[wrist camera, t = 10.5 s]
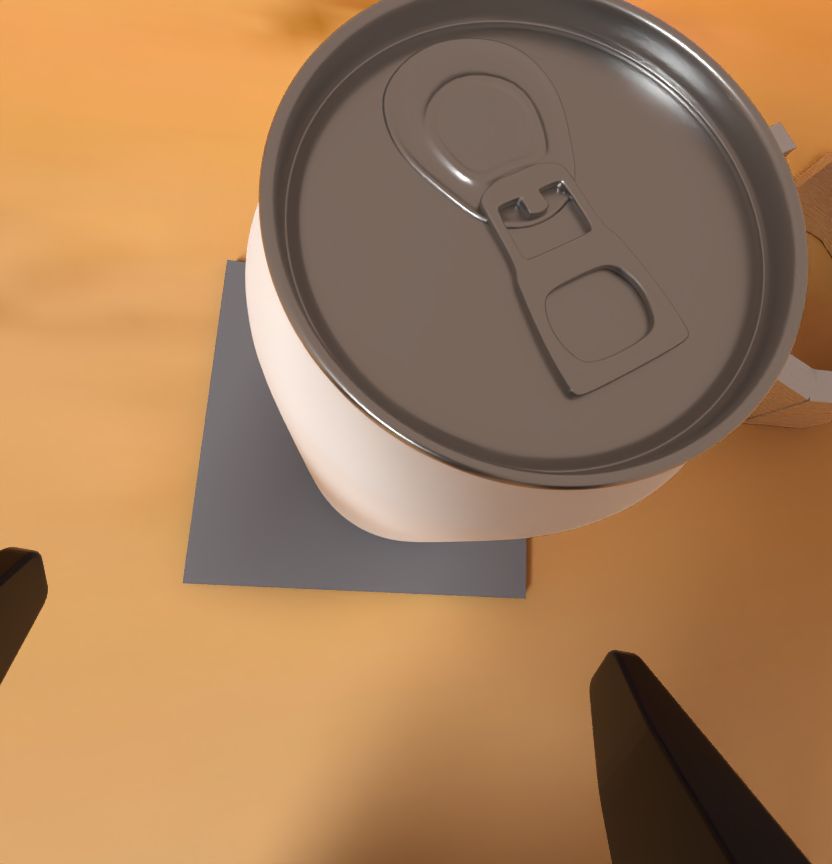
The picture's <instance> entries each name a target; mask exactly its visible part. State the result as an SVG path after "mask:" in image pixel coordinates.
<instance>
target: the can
mask: <svg viewBox="0 0 832 864" xmlns="http://www.w3.org/2000/svg"><path fill="white" fill-rule="evenodd" d="M807 286H808V242H807V233H806V226H805V220H804V215H803V210H802V206H801V202H800V198H799V195H798V191H797V188H796V185H795V182H794V179H793V176H792V174H791V171H790V168H789V166H788V164H787V161H786V159H785V157H784V154H783V152H782V150H781V148H780V146H779V144H778V142H777V141H776V139H775V137H774V135H773V133H772V132H771V130H770V128H769V127H768V125H767V123H766V122H765V120H764V119H763V117H762V116H761V114H760V112H759V111H758V110H757V108H756V107H755V105H754V104H753V103H752V101H751V100H750V99H749V98H748V96H747V95H746V94H745V92H744V91H743V90H742V89H741V88H740V86H739V85H738V84H737V83H736V82H735V81H734V80H733V79H732V77H731V76H730V75H729V74H728V73H727V72H726V71H725V70H724V69H723V68H722V67H721V66H720V65H719V64H718V63H717V62H716V61H715V60H714V59H712V58H711V57H710V56H709V55H708V54H707V53H706V52H705V51H703V50H702V49H701V48H700V47H699V46H697V45H696V44H695V43H694V42H692V41H691V40H690V39H688V38H687V37H686V36H684V35H683V34H682V33H680V32H679V31H677V30H676V29H674V28H673V27H671V26H670V25H668V24H667V23H665V22H664V21H662V20H660V19H659V18H657V17H655V16H653V15H652V14H650V13H648V12H646V11H644V10H642V9H641V8H638V7H636V6H634V5H632V4H630V3H628V2H626V1H624V0H381V1H379V2H377V3H375V4H373V5H372V6H370V7H368V8H367V9H365V10H363V11H362V12H360V13H359V14H357V15H356V16H354V17H352V18H351V19H350V20H348V21H347V22H346V23H344V24H343V25H342V26H341V27H339V28H338V29H337V30H336V31H334V32H333V33H332V34H331V35H330V36H329V37H328V38H327V39H326V40H325V41H324V42H323V43H322V44H321V45H320V46H319V47H318V48H317V49H316V50H315V51H314V52H313V53H312V55H311V56H310V57H309V58H308V59H307V61H306V62H305V63H304V64H303V66H302V67H301V68H300V70H299V71H298V73H297V74H296V76H295V77H294V79H293V80H292V82H291V84H290V85H289V87H288V88H287V90H286V92H285V94H284V96H283V98H282V100H281V102H280V104H279V106H278V108H277V111H276V113H275V116H274V118H273V121H272V123H271V127H270V130H269V133H268V136H267V140H266V144H265V148H264V152H263V157H262V163H261V170H260V180H259V202H258V205H257V208H256V212H255V215H254V218H253V222H252V226H251V230H250V235H249V240H248V246H247V254H246V268H245V288H246V301H247V309H248V316H249V323H250V328H251V333H252V338H253V342H254V346H255V349H256V353H257V356H258V359H259V362H260V365H261V368H262V370H263V373H264V376H265V379H266V381H267V384H268V386H269V389H270V391H271V394H272V396H273V398H274V400H275V402H276V405H277V407H278V409H279V411H280V413H281V415H282V418H283V420H284V422H285V424H286V426H287V428H288V430H289V432H290V434H291V436H292V438H293V440H294V442H295V444H296V446H297V448H298V450H299V452H300V454H301V456H302V458H303V460H304V462H305V464H306V466H307V468H308V470H309V472H310V474H311V476H312V478H313V479H314V481H315V483H316V485H317V486H318V488H319V490H320V491H321V493H322V494H323V496H324V497H325V498H326V500H327V501H328V502H329V503H330V504H331V505H332V506H333V508H334V509H335V510H336V511H337V512H339V513H340V514H341V515H342V516H343V517H344V518H346V519H347V520H348V521H350V522H351V523H353V524H354V525H356V526H357V527H359V528H361V529H363V530H365V531H367V532H369V533H372V534H374V535H377V536H380V537H383V538H387V539H392V540H397V541H407V542H462V541H492V540H510V539H522V538H530V537H538V536H545V535H551V534H556V533H561V532H566V531H570V530H573V529H577V528H580V527H583V526H586V525H589V524H592V523H595V522H598V521H600V520H603V519H606V518H608V517H610V516H613V515H615V514H617V513H619V512H621V511H623V510H625V509H627V508H629V507H631V506H633V505H635V504H636V503H638V502H640V501H641V500H643V499H644V498H646V497H648V496H649V495H650V494H652V493H653V492H655V491H656V490H657V489H659V488H660V487H661V486H662V485H664V484H665V483H666V482H667V481H668V480H669V479H671V478H672V477H673V476H674V475H675V474H676V473H677V472H678V471H679V470H680V469H681V468H682V467H683V466H684V465H685V464H686V463H687V462H689V461H691V460H692V459H694V458H696V457H698V456H700V455H701V454H703V453H704V452H706V451H707V450H709V449H711V448H712V447H713V446H715V445H716V444H718V443H719V442H720V441H722V440H723V439H724V438H726V437H727V436H728V435H729V434H731V433H732V432H733V431H734V430H735V429H736V428H737V427H738V426H740V425H741V424H742V423H743V422H744V421H745V420H746V419H747V418H748V417H749V416H750V415H751V413H752V412H753V411H754V410H755V409H756V408H757V407H758V405H759V404H760V403H761V402H762V400H763V399H764V398H765V396H766V395H767V394H768V392H769V391H770V389H771V388H772V386H773V385H774V383H775V382H776V380H777V378H778V377H779V375H780V373H781V371H782V370H783V368H784V366H785V364H786V362H787V360H788V358H789V355H790V353H791V351H792V348H793V346H794V343H795V341H796V338H797V334H798V331H799V328H800V324H801V321H802V317H803V312H804V307H805V301H806V295H807Z"/></svg>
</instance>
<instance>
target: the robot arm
mask: <svg viewBox="0 0 832 864" xmlns="http://www.w3.org/2000/svg"><path fill="white" fill-rule="evenodd" d="M47 594H48V585H47V580H46V575H45V570H44V566H43V561H42V557H41V555H40V554H39V553H38V552H37V551H34V550H28V549H23V548H17V547H9V548H5V549H3V550H0V685H1V683H2V681H3V679H4V677H5V675H6V673H7V672H8V670H9V668H10V666H11V664H12V662H13V661H14V659H15V657H16V655H17V653H18V651H19V649H20V648H21V646H22V644H23V642H24V640H25V638H26V636H27V635H28V633H29V631H30V629H31V627H32V625H33V624H34V622H35V620H36V618H37V616H38V614H39V612H40V611H41V609H42V607H43V605H44V603H45V600H46V598H47ZM590 704H591V715H592V726H593V737H594V748H595V759H596V770H597V780H598V788H599V795H600V801H601V807H602V812H603V818H604V823H605V828H606V833H607V839H608V844H609V849H610V854H611V860H612V864H812V863H811V862H810V861H809V860H808V859H807V857H806V856H805V855H804V854H803V853H802V851H801V850H800V849H799V848H798V847H797V845H796V844H795V843H794V842H793V841H792V839H791V838H790V837H789V836H788V835H787V833H786V832H785V831H784V830H783V829H782V827H781V826H780V825H779V824H778V823H777V821H776V820H775V819H774V818H773V817H772V815H771V814H770V813H769V812H768V811H767V809H766V808H765V807H764V806H763V805H762V803H761V802H760V801H759V800H758V799H757V797H756V796H755V795H754V794H753V793H752V791H751V790H750V789H749V788H748V787H747V785H746V784H745V783H744V782H743V781H742V779H741V778H740V777H739V776H738V775H737V773H736V772H735V771H734V770H733V769H732V767H731V766H730V765H729V764H728V763H727V761H726V760H725V759H724V758H723V757H722V755H721V754H720V753H719V752H718V751H717V749H716V748H715V747H714V746H713V745H712V743H711V742H710V741H709V740H708V739H707V737H706V736H705V735H704V734H703V733H702V731H701V730H700V729H699V728H698V727H697V725H696V724H695V723H694V722H693V721H692V719H691V718H690V717H689V716H688V715H687V713H686V712H685V711H684V710H683V709H682V707H681V706H680V705H679V704H678V703H677V701H676V700H675V699H674V698H673V697H672V695H671V694H670V693H669V692H668V691H667V689H666V688H665V687H664V686H663V685H662V683H661V682H660V681H659V680H658V679H657V677H656V676H655V675H654V674H653V672H652V671H651V670H650V669H649V668H648V666H647V665H646V664H645V663H644V662H643V660H642V659H641V658H640V657H639V656H637V655H636V654H634V653H630V652H624V651H618V650H612V651H610V652H609V653H608V654H607V655H606V657H605V659H604V660H603V662H602V663H601V665H600V666H599V668H598V669H597V671H596V672H595V674H594V676H593V677H592V680H591V683H590Z"/></svg>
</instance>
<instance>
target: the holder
mask: <svg viewBox="0 0 832 864" xmlns="http://www.w3.org/2000/svg"><path fill="white" fill-rule="evenodd" d="M769 128H770V130H771V132H772V133H773V135H774V137H775V139H776V141H777V142H778V144H779V146H780V148H781V150H782V152H783V154H784V157H786V156H787V155H788V154H789V153H790V152H791V151H793V150H794V149H795V148H796V146H795V144H794V143H793V141H792V140H791V138H790V137H789V135H788V133H787V132H786V130H785V129H784V127H783V126H782V124H781V123H778V124H775V125H773V126H770V127H769ZM794 182H795V185H796V188H797V191H798V195H799V198H800V202H801V206H802V210H803V215H804V220H805V226H806V230H807V231H808V232H810V233H811V234H813V235H814V236H816V237H817V238H819V239H820V240H822V242H823V244H824V245H825V247H826V248H827V250H828V251H829V253H830V254H831V256H832V150H831V151H830V152H828V153H827V154H826V155H825V156H823V157H822V158H821V159H820V160H818V161H817V162H816V163H815V164H814V165H812V166H811V167H810V168H809V169H807V170H806V171H805V172H804V173H802V174H801V175H800V176H799V177H797V178H796V179H795V180H794ZM831 421H832V371H826V370H816V369H813V368H811V367H810V366H808V365H807V364H805V363H804V362H802V361H801V360H799V359H798V358H796V357H795V356H793V355H792V354H790V355H789V358H788V360H787V362H786V364H785V366H784V368H783V370H782V371H781V373H780V375H779V377H778V378H777V380H776V382H775V383H774V385H773V386H772V388H771V389H770V391H769V392H768V394H767V395H766V396H765V398H764V399H763V400H762V402H761V403H760V404H759V405H758V407H757V408H756V409H755V410H754V411H753V412H752V413H751V415H750V416H749V417H748V418H747V419H746V420H745V421H744V422H743V423H748V424H760V425H771V426H783V427H794V428H808V427H812V426H815V425H819V424H823V423H827V422H831Z"/></svg>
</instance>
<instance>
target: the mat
mask: <svg viewBox="0 0 832 864" xmlns="http://www.w3.org/2000/svg"><path fill="white" fill-rule="evenodd" d="M245 268H246V262H240V261H231V260H227V266H226V273H225V280H224V287H223V295H222V302H221V309H220V316H219V324H218V331H217V338H216V345H215V353H214V360H213V367H212V374H211V382H210V389H209V396H208V404H207V411H206V418H205V425H204V433H203V440H202V447H201V454H200V462H199V469H198V476H197V483H196V491H195V498H194V505H193V512H192V520H191V527H190V534H189V541H188V549H187V556H186V563H185V570H184V578H183V583H191V584H213V585H235V586H257V587H279V588H302V589H324V590H346V591H368V592H390V593H412V594H434V595H457V596H479V597H501V598H523V599H526V543H527V538H522V539H510V540H492V541H462V542H407V541H397V540H392V539H387V538H383V537H380V536H377V535H374V534H372V533H369V532H367V531H365V530H363V529H361V528H359V527H357V526H356V525H354V524H353V523H351V522H350V521H348V520H347V519H346V518H344V517H343V516H342V515H341V514H340V513H339V512H337V511H336V510H335V509H334V508H333V506H332V505H331V504H330V503H329V502H328V501H327V500H326V498H325V497H324V496H323V494H322V493H321V491H320V490H319V488H318V486H317V485H316V483H315V481H314V479H313V478H312V476H311V474H310V472H309V470H308V468H307V466H306V464H305V462H304V460H303V458H302V456H301V454H300V452H299V450H298V448H297V446H296V444H295V442H294V440H293V438H292V436H291V434H290V432H289V430H288V428H287V426H286V424H285V422H284V420H283V418H282V415H281V413H280V411H279V409H278V407H277V405H276V402H275V400H274V398H273V396H272V394H271V391H270V389H269V386H268V384H267V381H266V379H265V376H264V373H263V370H262V368H261V365H260V362H259V359H258V356H257V353H256V349H255V346H254V342H253V338H252V333H251V328H250V323H249V316H248V309H247V301H246V288H245Z"/></svg>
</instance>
